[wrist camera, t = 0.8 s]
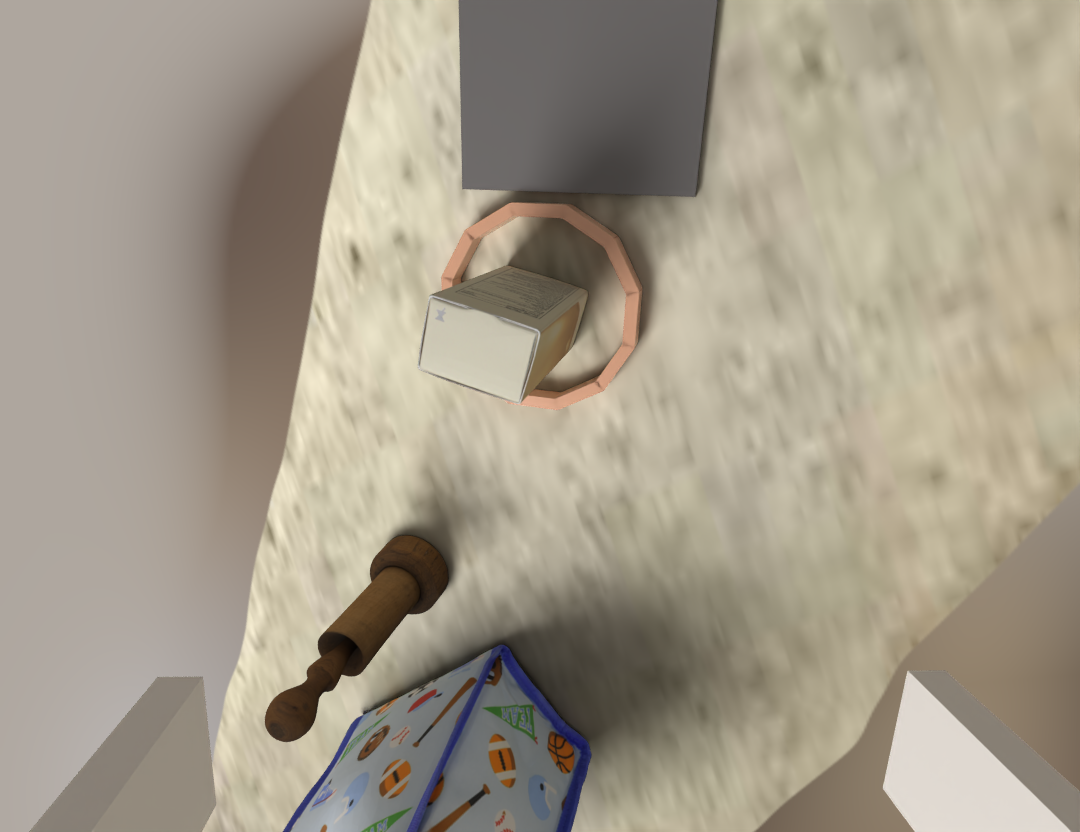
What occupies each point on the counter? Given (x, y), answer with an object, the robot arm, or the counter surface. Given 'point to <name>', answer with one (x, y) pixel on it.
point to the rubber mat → (584, 94)
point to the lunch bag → (454, 760)
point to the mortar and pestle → (362, 629)
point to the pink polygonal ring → (617, 259)
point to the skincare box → (500, 331)
